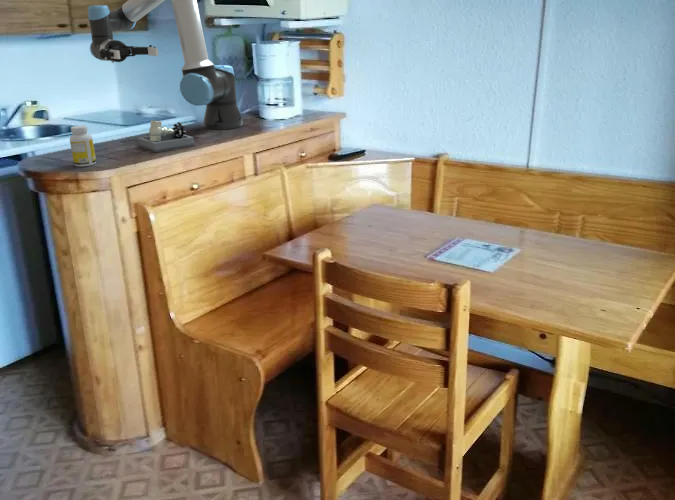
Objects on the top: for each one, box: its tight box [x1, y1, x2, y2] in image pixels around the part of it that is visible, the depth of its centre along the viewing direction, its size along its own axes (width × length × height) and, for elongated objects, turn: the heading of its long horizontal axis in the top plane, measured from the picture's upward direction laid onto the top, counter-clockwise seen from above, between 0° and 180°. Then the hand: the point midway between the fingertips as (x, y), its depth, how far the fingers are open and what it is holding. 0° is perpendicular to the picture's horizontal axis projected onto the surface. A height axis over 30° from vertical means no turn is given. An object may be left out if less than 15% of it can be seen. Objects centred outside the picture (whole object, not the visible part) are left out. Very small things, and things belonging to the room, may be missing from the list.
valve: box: [148, 120, 187, 142], centre depth 221 cm, size 7×7×12 cm
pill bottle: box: [69, 125, 97, 168], centre depth 200 cm, size 6×6×12 cm
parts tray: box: [137, 134, 195, 154], centre depth 224 cm, size 14×14×3 cm
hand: (138, 53), depth 223 cm, fingers open, 13 cm apart
